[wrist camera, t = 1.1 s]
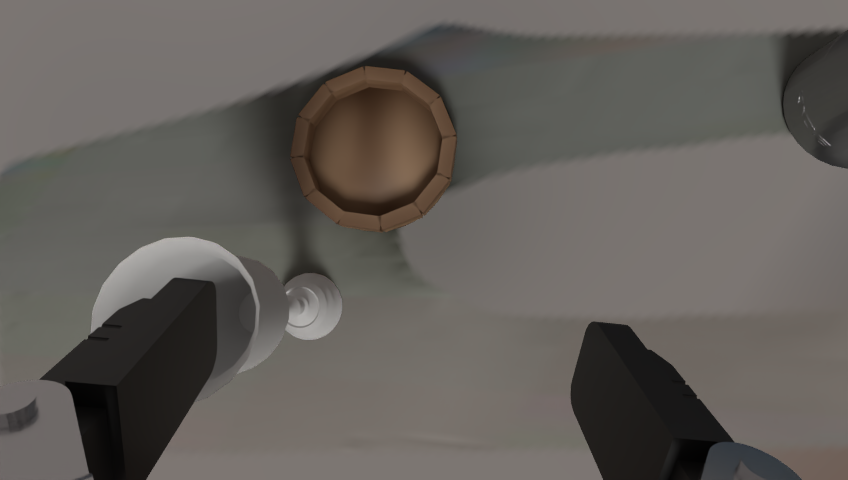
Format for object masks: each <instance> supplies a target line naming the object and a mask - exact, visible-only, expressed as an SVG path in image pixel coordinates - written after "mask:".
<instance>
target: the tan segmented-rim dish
mask: <svg viewBox="0 0 848 480" xmlns="http://www.w3.org/2000/svg"><path fill="white" fill-rule="evenodd" d="M326 84H327V86H326V85H325V84H323V85H322V86H321V87H320V88H319V89H318V91H317V92H316V93H315V94H314V96H313V97H312V98H311V99H310V101H309V102H308V103H307V104H306V106H305V107H304V108H303V109H302V110H301V112H300V113H299V114H298V115H299V116H300V117H301V118H299V117H297V120H296V125H295V131H294V137H293V142H292V148H291V154H290V157H292V159H290V160H291V162H292V165H293V168H294V171H295V173H296V176H297V179H298V181H299V184H300V187H301V190H302V192H303V195H304V196H305V197H306V199H307V200H308V201H309V202H311V203H312V204H313V205H314V206H316V207H317V208H318V209H319V210H321V211H322V212H323V213H324V214H325V215H327V216H328V217H329V218H330V219H332V220H333V221H334V222H335V223H337V224H339V225H341V226H343V227H348V228H355V229H359V230H364V231H376V232H383V231H385V232H387V231H390V230H393V229H397V228H400V227H403V226H406V225H408V224H410V223H412V222H414V221H416V220H417V219H420V218H422V217H423V215H426V214H427V212H428V211H429V210H430V209H431V208H432V207H433V206H434V205H435V204H436V203H437V202H438V200H439V199H440V198H441V196H442V195H443V193H444V192H445V190H446V189H447V187H448V186H449V185H450V182H451V179H452V173H453V168H454V161H455V153H456V146H457V137H456V132H455V130H454V127H453V125H452V123H451V120H450V118H449V115H448V113H447V110H446V108H445V106H444V103H443V101H442V98H441V97H440V96H439V94H437V93H436V92H435V91H433V90H432V89H431V88H429V87H428V86H427V85H425V84H424V83H422V82H421V81H420V80H418V79H417V78H416V77H414V76H413V75H412V74H410V73H409V72H408V71H407V73H406V72H405V70H397V69H388V68H379V67H370V66H365V70H364V68H363V66H362V67H360V68H358V69H355V70H353V71H350V72H348V73H346V74H343V75H341V76H338V77H336V78H334V79H331V80H329V81H326Z"/></svg>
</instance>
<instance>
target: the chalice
mask: <svg viewBox="0 0 848 480" xmlns="http://www.w3.org/2000/svg"><path fill="white" fill-rule="evenodd" d="M173 278H186V279H196V280H205V281H212V282H213V283H214V284H215V287H216V302H217V355H216V361H215V365H214V368H213V371H212V373H211V375H210V377H209V379H208V380H207V382H206V384H205V385H204V387H203V388H202V390H201V392H200V393H199V395H198V397H197V398H196V400H195V401H194V402H197V401H199V400H202V399H205V398H208V397H209V396H211V395H212V394H214V393H215V392H216V391H218V390H219V389H220V388H222V387H223V386H225V385H226V384H227V383H229V382H230V381H231V380H232V379H233V377H234V376H235V375H236V374H237V373H240V372H243V371H246V370H248V369H251V368H254V367H255V366H256V365H258V364H259V363H260V362H262V361H263V360H265V359H266V358H267V357H269V356H270V354H271V353H272V352H273V350H274V349H275V348H276V347H277V345H278V344H279V343H280V341H281V339H282V336H283V334H284V331H285V330H286V331H287V332H289V333H290V334H291V335H293V336H294V337H297V338H300V339H303V340H315V339H317V338H320V337H323V336H325V335H326V334H328V333H329V332H330V331H332V330H333V329H334V327H335V326H336V324H337V323H338V322H339V319H340V316H341V313H342V299H341V295H340V292H339V290H338V288H337V287H336V286H335V284H334V283H333V282H332V281H331V280H329V279H328V278H327V277H325V276H323V275H320V274H316V273H304V274H301V275H298V276H295V277H294V278H293V279H291V280H290V281H289V282H287V283H286V285H285V286H283V284H282V283H281V282H280V280H279V279H278V277H277V276H276V275H275V273H274V272H273V271H272V270H271V269H269V268H268V267H266V266H265V265H263V264H262V263H260V262H259V261H256V260H252V259H249V258H245V257H241V256H235V255H233V254H231V253H230V252H228V251H227V250H225V249H224V248H222V247H221V246H220V245H218V244H217V243H213V242H210V241H206V240H202V239H198V238H194V237H180V238H165V239H163V240H160V241H157V242H155V243H152V244H149V245H146V246H144V247H141V248H140V249H138V250H137V251H136V252H134V253H133V254H132V255H130V256H129V257H128V258H126V259H125V260H123V261H122V262H121V263H120V264H119V265H118V266H117V267H116V269H115V270H114V271H113V272H112V274H111V275H110V276H109V277H108V279H107V280H106V281H105V283H104V284H103V286H102V288H101V291H100V293H99V295H98V298H97V300H96V303H95V305H94V308H93V312H92V323H91V333H92V332H94V331H95V330H96V329H97V328H98V327H102V324H103V323H104V322H105V321H106V320H107V319H108V318H109V317H110V316H112V315H113V314H114V313H115V312H116V311H117V310H118V309H120V308H122V307H125V306H127V305H129V304H131V303H133V302H135V301H138V300H140V299H142V298H149V299H151V298H152V297H153V296H154V295H156V294H157V293H158V292H159V291H160V290H161V289H162V288H163V287H164V286H165V285H166V284H167V283H168V282H169V281H170V280H171V279H173Z"/></svg>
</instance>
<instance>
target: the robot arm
mask: <svg viewBox="0 0 848 480" xmlns="http://www.w3.org/2000/svg"><path fill="white" fill-rule="evenodd" d="M783 108H784V116H785V120H786V123H787V125H788V128H789V130H790V132H791V134H792V135H793V137H794V138H795V140H796V141H797V143H798V144H799V145H800V146H801V147H803V149H805V151H806V152H808V153H809V154H811V155H812V156H814V157H815V158H817V159H818V160H820V161H822V162H825V163H827V164H830V165H832V166H837V167H842V168H847V169H848V30H847V31H846V32H844V33H843V34H841V35H840V36H838V37H837V38H835V39H834V40H832V41H831V42H830V43H828V44H827V45H825V46H824V47H822V48H821V49H819V50H818V51H816V52H815V53H813V54H812V55H811V56H809V57H808V58H806V59H805V60H804V61H803V62H802V63H801V64H800V65H799V66H798V67H797V68H796V69H795V70H794V72H793V73H792V75H791V77H790V78H789V80H788V83H787V86H786V89H785V92H784V100H783ZM216 355H217V302H216V287H215V284H214V283H213V282H212V281H205V280H196V279H186V278H173V279H171V280H170V281H169V282H168V283H167V284H166V285H165V286H164V287H163V288H162V289H161V290H160V291H159V292H158V293H157V294H156V295H154V296H153V297H152V298H151V299H149V298H142V299H140V300H138V301H135V302H133V303H131V304H129V305H127V306H125V307H122V308H120V309H118V310H117V311H116V312H115V313H114V314H113V315H112V316H110V317H109V318H108V319H107V320H106V321H105V322H104V323H103V324H102V327H98V328H97V329H96V330H95V331H94V332H92V333H91V334H90V335H89V336H88V339H87V340H85V339H84V340H83V341H82V342H81V343H80V344H79V345H78V346H77V347H75V348H74V349H73V350H72V351H71V352H70V353H69V354H68V355H66V356H65V357H64V358H63V359H62V360H61V361H60V362H58V363H57V364H56V365H55V366H54V367H53V368H52V369H51V370H49V371H48V372H47V373H46V374H45V375H44V376H43V377H42V378H40V379H39V380H27V381H19V382H14V383H9V384H6V385H2V386H0V480H146V479H147V477H148V475H149V474H150V472H151V470H152V469H153V467H154V466H155V464H156V463H157V461H158V459H159V458H160V456H161V455H162V453H163V451H164V450H165V448H166V446H167V445H168V443H169V442H170V440H171V438H172V437H173V435H174V434H175V432H176V430H177V429H178V427H179V426H180V424H181V422H182V421H183V419H184V417H185V416H186V414H187V413H188V411H189V409H190V408H191V406H192V405H193V403H194V401H195V400H196V398H197V397H198V395H199V393H200V392H201V390H202V388H203V387H204V385H205V384H206V382H207V380H208V379H209V377H210V375H211V373H212V371H213V368H214V365H215V361H216ZM571 404H572V408H573V411H574V414H575V416H576V418H577V421H578V423H579V425H580V427H581V430H582V432H583V434H584V437H585V439H586V441H587V443H588V446H589V448H590V450H591V453H592V455H593V457H594V459H595V462H596V464H597V466H598V468H599V471H600V473H601V475H602V478H603V480H802V479H801V478H800V477H799V476H798V475H797V474H796V473H795V472H794V471H793V470H791V469H790V468H789V467H788V466H787V465H785V464H784V463H782V462H781V461H779V460H778V459H776V458H775V457H773V456H771V455H769V454H767V453H765V452H763V451H761V450H759V449H756V448H754V447H751V446H748V445H745V444H741V443H735V442H734V441H733V440H732V438H731V437H730V436H729V435H728V433H727V432H726V431H725V430H724V428H723V427H722V426H721V425H720V424H719V422H718V421H717V420H716V419H715V417H714V416H713V415H712V414H711V412H710V411H709V410H708V409H707V408H706V406H705V405H704V404H703V403H702V401H701V400H700V399H697V395H696V394H695V393H694V392H693V390H692V389H691V388H690V387H689V385H685V380H684V379H683V378H682V377H681V376H680V374H679V373H678V372H677V371H676V369H675V368H674V367H673V366H672V365H671V364H670V363H668V362H667V361H666V360H664V359H663V358H661V357H660V356H659V355H657V354H656V353H655V352H653V351H652V350H647V348H646V347H645V346H644V345H643V343H642V342H641V341H640V339H639V338H638V337H637V335H636V334H635V333H634V332H633V330H632V329H631V328H630V327H629V326H628V325H622V324H613V323H603V322H591V323H590V324H589V325H588V327H587V329H586V332H585V335H584V339H583V343H582V346H581V350H580V354H579V357H578V361H577V365H576V368H575V372H574V376H573V379H572V384H571Z"/></svg>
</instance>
